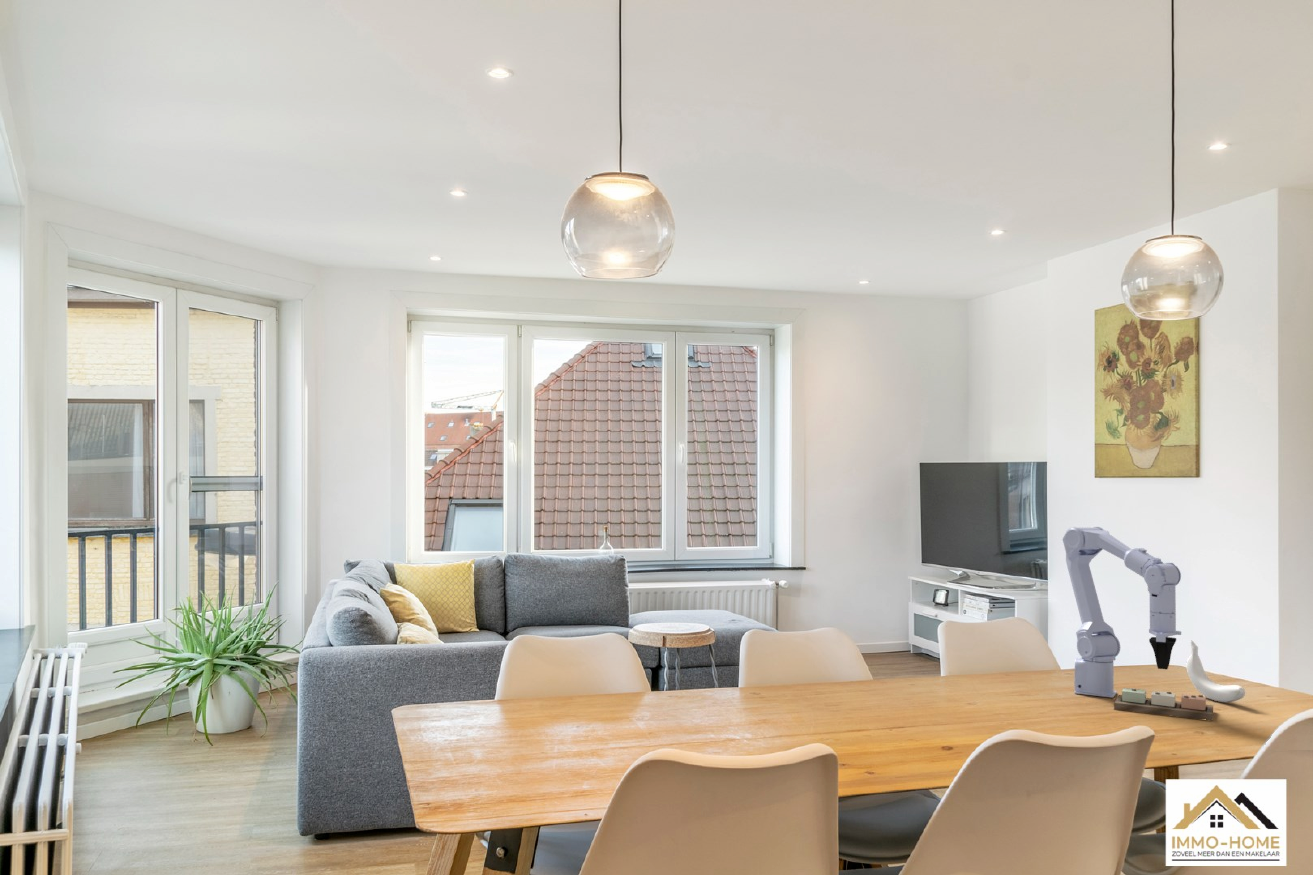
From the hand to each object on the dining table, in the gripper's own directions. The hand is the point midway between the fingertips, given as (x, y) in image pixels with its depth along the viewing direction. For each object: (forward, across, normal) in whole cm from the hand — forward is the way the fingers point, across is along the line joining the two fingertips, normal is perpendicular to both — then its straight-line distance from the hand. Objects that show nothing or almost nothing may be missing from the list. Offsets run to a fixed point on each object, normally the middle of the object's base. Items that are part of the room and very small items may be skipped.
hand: (1163, 667), depth 240 cm
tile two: (+9, 0, 0) cm, 9 cm away
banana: (+11, +20, -11) cm, 25 cm away
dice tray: (+10, 0, 0) cm, 10 cm away
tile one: (+9, 0, +6) cm, 11 cm away
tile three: (+9, 0, -6) cm, 11 cm away
